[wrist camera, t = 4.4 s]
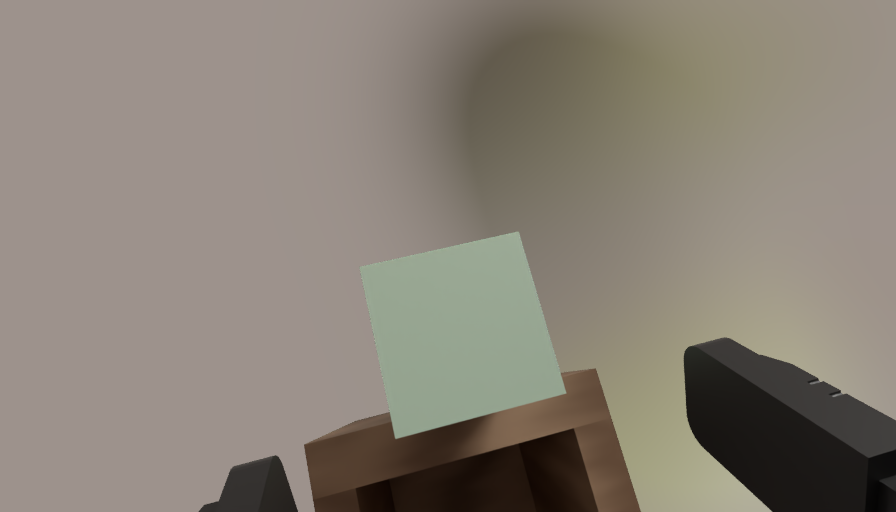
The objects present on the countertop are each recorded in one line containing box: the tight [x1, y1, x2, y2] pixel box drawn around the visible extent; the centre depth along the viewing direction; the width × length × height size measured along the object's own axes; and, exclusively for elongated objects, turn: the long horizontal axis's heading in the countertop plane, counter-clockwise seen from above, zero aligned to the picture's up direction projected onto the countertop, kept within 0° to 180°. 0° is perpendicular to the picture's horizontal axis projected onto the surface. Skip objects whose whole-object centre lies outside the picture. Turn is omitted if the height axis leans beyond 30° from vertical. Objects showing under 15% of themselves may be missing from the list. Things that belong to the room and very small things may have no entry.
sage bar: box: [360, 232, 566, 439], centre depth 22 cm, size 4×22×4 cm, turn 4°
